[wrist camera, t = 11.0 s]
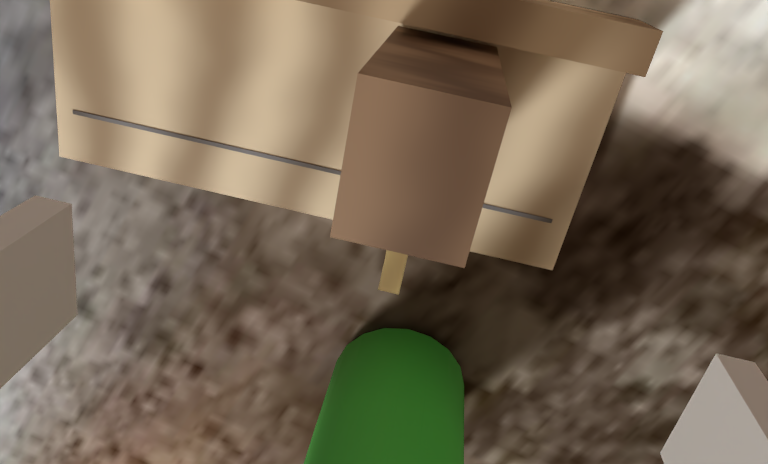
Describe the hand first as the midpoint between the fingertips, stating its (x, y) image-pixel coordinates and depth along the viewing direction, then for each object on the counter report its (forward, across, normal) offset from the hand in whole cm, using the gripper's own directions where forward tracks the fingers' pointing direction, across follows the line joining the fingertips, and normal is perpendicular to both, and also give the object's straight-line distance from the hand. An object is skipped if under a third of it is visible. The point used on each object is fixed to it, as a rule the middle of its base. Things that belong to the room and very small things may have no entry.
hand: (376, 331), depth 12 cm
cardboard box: (+21, 0, -4) cm, 21 cm away
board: (+22, -6, -2) cm, 23 cm away
